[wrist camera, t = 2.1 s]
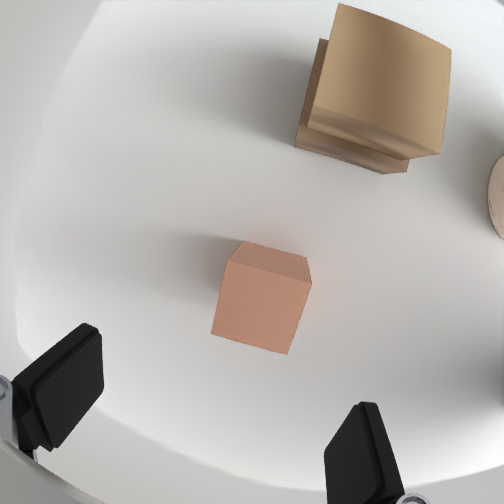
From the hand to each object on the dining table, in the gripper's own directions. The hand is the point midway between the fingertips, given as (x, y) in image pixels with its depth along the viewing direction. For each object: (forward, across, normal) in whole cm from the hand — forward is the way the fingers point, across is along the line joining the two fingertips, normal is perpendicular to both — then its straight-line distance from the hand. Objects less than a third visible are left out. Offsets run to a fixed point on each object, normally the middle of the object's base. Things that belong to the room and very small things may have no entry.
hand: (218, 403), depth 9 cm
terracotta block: (+14, -1, 0) cm, 15 cm away
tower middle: (+10, -4, -14) cm, 17 cm away
